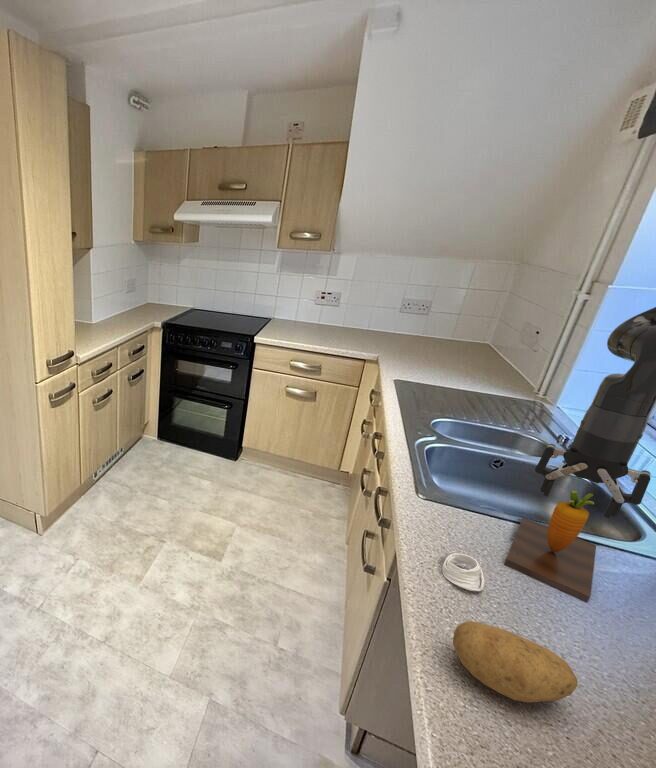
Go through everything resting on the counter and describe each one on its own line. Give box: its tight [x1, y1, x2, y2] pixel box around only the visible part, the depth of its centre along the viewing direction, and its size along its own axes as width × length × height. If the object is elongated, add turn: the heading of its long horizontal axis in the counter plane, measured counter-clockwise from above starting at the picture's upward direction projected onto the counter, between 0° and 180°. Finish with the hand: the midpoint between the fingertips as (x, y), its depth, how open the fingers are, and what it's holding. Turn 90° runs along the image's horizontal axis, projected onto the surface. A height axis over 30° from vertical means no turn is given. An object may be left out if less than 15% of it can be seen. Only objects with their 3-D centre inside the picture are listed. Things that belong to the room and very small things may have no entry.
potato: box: [452, 620, 579, 703], centre depth 60 cm, size 10×14×8 cm
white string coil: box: [441, 552, 485, 592], centre depth 79 cm, size 8×7×5 cm
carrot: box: [547, 489, 595, 552], centre depth 82 cm, size 5×5×15 cm
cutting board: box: [503, 516, 597, 603], centre depth 85 cm, size 20×12×2 cm, turn 132°
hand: (574, 504), depth 81 cm, fingers open, 8 cm apart
